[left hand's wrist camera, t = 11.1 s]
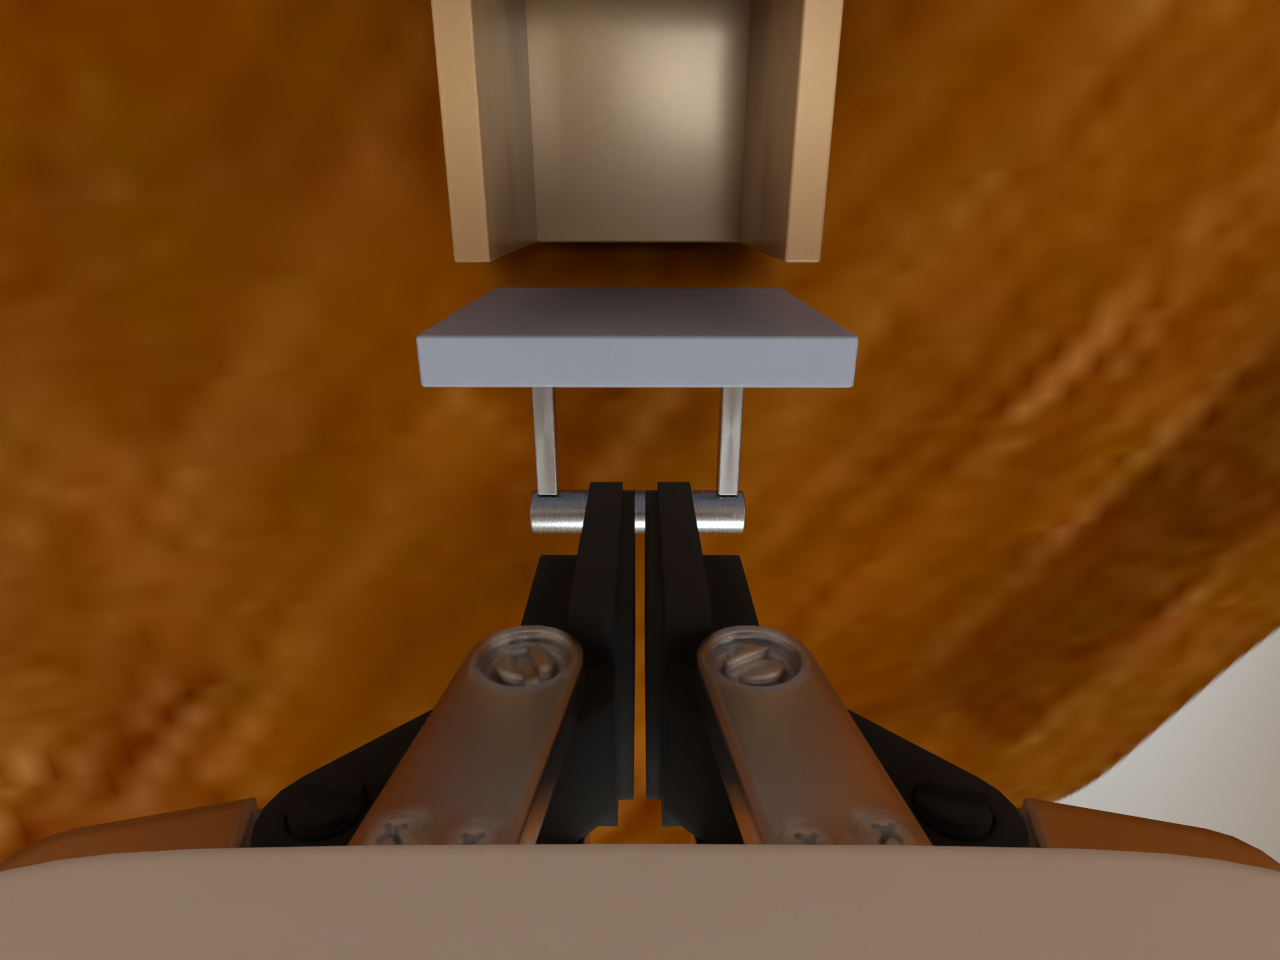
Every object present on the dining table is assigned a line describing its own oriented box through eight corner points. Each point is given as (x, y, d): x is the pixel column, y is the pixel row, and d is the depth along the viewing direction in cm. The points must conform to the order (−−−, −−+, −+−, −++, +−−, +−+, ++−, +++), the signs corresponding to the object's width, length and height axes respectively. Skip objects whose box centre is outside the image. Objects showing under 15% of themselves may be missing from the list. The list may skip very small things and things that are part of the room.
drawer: (769, 465, 27) (831, 590, 18) (506, 464, 27) (443, 590, 18) (831, -386, 19) (1000, -902, 10) (445, -386, 19) (273, -904, 10)
